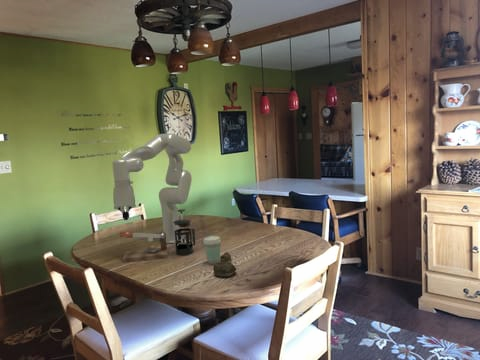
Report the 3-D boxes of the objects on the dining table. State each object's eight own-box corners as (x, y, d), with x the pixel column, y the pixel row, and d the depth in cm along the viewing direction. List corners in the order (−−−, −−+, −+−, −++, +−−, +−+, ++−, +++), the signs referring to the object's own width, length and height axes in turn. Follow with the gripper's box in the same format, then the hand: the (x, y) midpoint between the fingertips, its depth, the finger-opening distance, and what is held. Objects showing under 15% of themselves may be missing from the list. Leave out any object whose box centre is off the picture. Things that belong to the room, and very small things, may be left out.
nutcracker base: (168, 250, 203) (166, 230, 201) (167, 257, 191) (166, 236, 189) (126, 255, 199) (124, 235, 198) (122, 262, 187) (120, 241, 186)
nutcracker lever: (164, 240, 197) (165, 232, 196) (164, 242, 194) (165, 234, 194) (120, 238, 193) (121, 231, 193) (119, 240, 190) (120, 232, 190)
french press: (179, 257, 191) (176, 212, 188) (171, 253, 198) (167, 210, 195) (199, 251, 198) (196, 208, 195) (190, 248, 205) (187, 206, 202)
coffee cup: (213, 258, 186) (211, 234, 185) (226, 261, 181) (224, 236, 180) (201, 263, 180) (199, 239, 178) (214, 266, 175) (212, 241, 173)
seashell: (245, 258, 165) (230, 253, 172) (227, 250, 157) (212, 245, 165) (235, 283, 162) (220, 277, 170) (217, 276, 155) (202, 270, 162)
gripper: (138, 181, 194) (141, 216, 196) (108, 184, 191) (112, 219, 194) (137, 183, 186) (140, 219, 189) (105, 186, 184) (109, 222, 186)
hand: (126, 219), depth 191 cm, fingers closed
